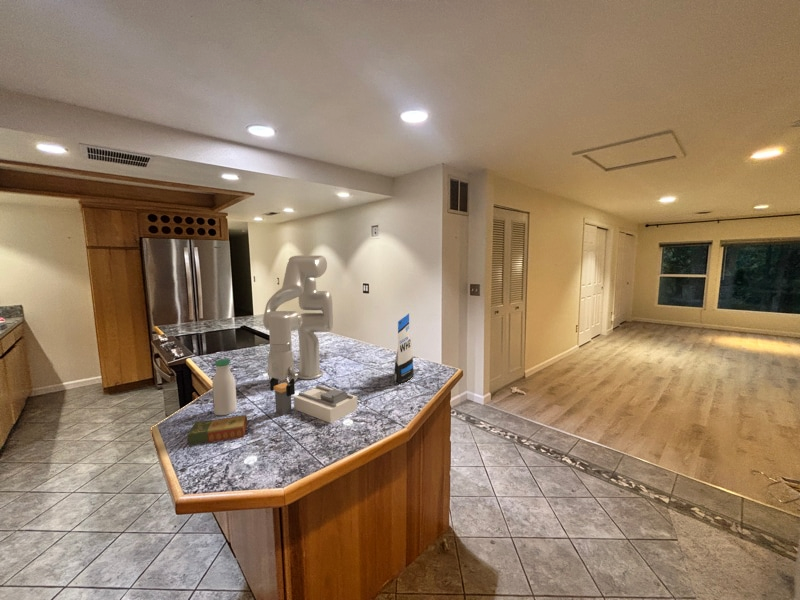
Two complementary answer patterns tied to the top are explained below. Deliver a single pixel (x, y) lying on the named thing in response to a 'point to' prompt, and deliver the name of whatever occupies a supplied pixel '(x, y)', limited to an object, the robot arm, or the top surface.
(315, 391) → the socket
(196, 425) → the carton
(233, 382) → the milk bottle
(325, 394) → the shutter
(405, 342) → the protein powder
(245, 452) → the top surface
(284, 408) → the plug
